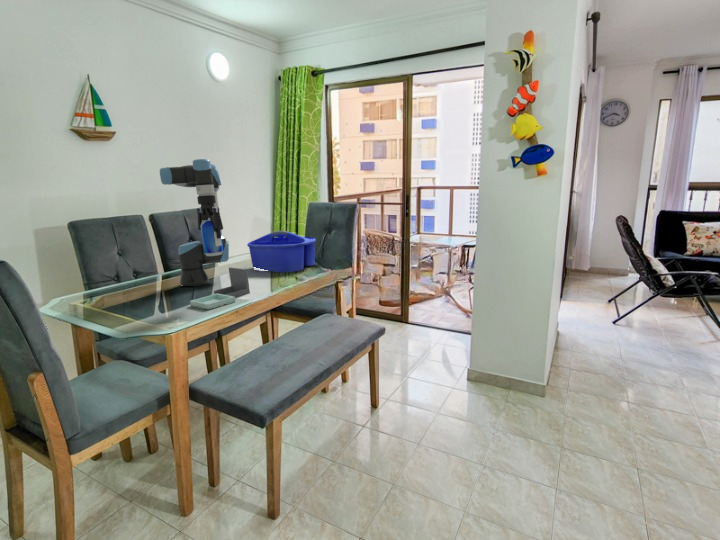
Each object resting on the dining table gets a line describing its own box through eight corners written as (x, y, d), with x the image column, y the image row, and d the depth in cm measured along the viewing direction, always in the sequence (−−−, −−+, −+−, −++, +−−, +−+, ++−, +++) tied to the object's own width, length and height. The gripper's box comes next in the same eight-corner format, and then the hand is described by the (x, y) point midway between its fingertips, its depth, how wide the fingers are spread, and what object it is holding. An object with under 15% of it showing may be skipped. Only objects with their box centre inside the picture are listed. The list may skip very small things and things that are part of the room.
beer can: (206, 257, 191) (201, 221, 188) (203, 255, 199) (198, 220, 196) (225, 254, 195) (220, 219, 192) (221, 252, 202) (217, 218, 199)
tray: (190, 306, 195) (190, 300, 194) (217, 298, 206) (217, 293, 205) (208, 310, 186) (207, 304, 186) (235, 302, 197) (234, 296, 196)
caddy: (302, 273, 251) (298, 233, 247) (239, 272, 269) (235, 234, 264) (326, 262, 280) (323, 226, 275) (268, 262, 297) (265, 228, 292)
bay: (214, 295, 212) (211, 271, 209) (233, 290, 220) (230, 267, 218) (230, 298, 203) (227, 273, 201) (249, 293, 212) (246, 269, 210)
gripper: (185, 196, 195) (192, 246, 200) (212, 194, 182) (219, 247, 187) (200, 195, 201) (206, 243, 205) (227, 193, 188) (234, 244, 193)
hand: (212, 245), depth 196 cm, fingers closed on beer can, 8 cm apart
